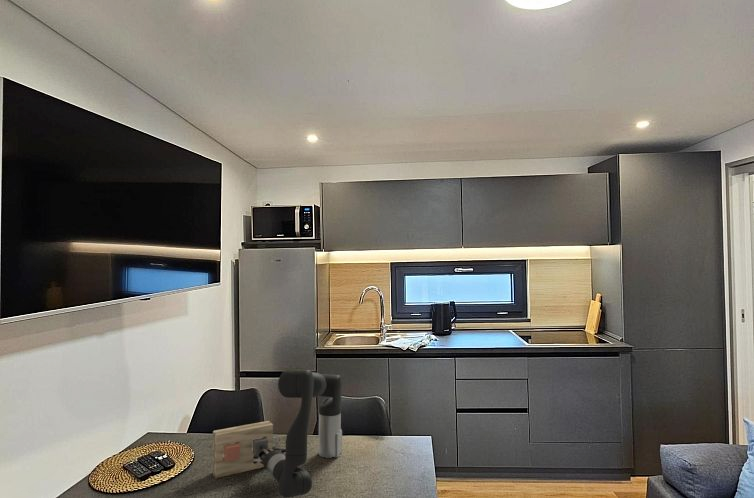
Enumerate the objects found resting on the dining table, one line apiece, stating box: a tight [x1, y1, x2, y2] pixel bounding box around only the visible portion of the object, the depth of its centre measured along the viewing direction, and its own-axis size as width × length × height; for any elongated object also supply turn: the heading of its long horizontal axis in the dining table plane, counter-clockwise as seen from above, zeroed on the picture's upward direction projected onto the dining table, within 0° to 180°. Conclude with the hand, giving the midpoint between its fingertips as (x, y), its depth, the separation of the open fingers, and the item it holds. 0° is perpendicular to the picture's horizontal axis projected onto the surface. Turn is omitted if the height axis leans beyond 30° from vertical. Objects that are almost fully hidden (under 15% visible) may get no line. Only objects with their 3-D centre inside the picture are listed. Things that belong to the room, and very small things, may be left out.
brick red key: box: [223, 442, 240, 462], centre depth 174 cm, size 3×5×5 cm, turn 122°
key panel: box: [212, 420, 274, 479], centre depth 181 cm, size 5×22×16 cm, turn 122°
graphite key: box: [252, 437, 268, 455], centre depth 180 cm, size 3×5×5 cm, turn 122°
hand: (262, 447), depth 179 cm, fingers closed
